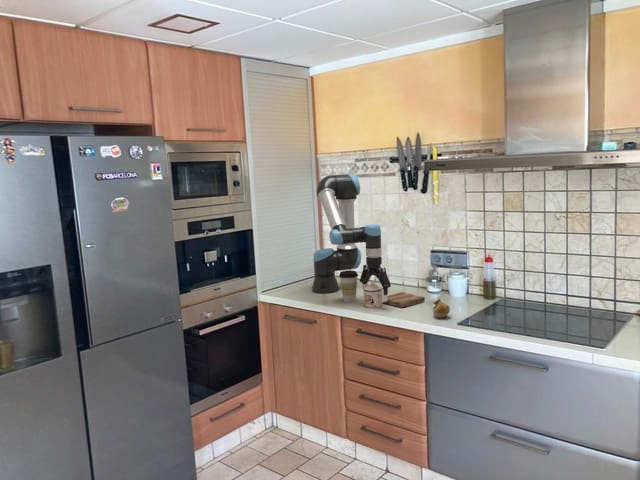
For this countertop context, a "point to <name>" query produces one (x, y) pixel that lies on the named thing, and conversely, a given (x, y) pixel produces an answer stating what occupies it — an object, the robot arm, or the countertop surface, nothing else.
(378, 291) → the teacup with lid
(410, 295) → the walnut board
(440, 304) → the onion
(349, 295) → the coffee cup
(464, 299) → the countertop surface
